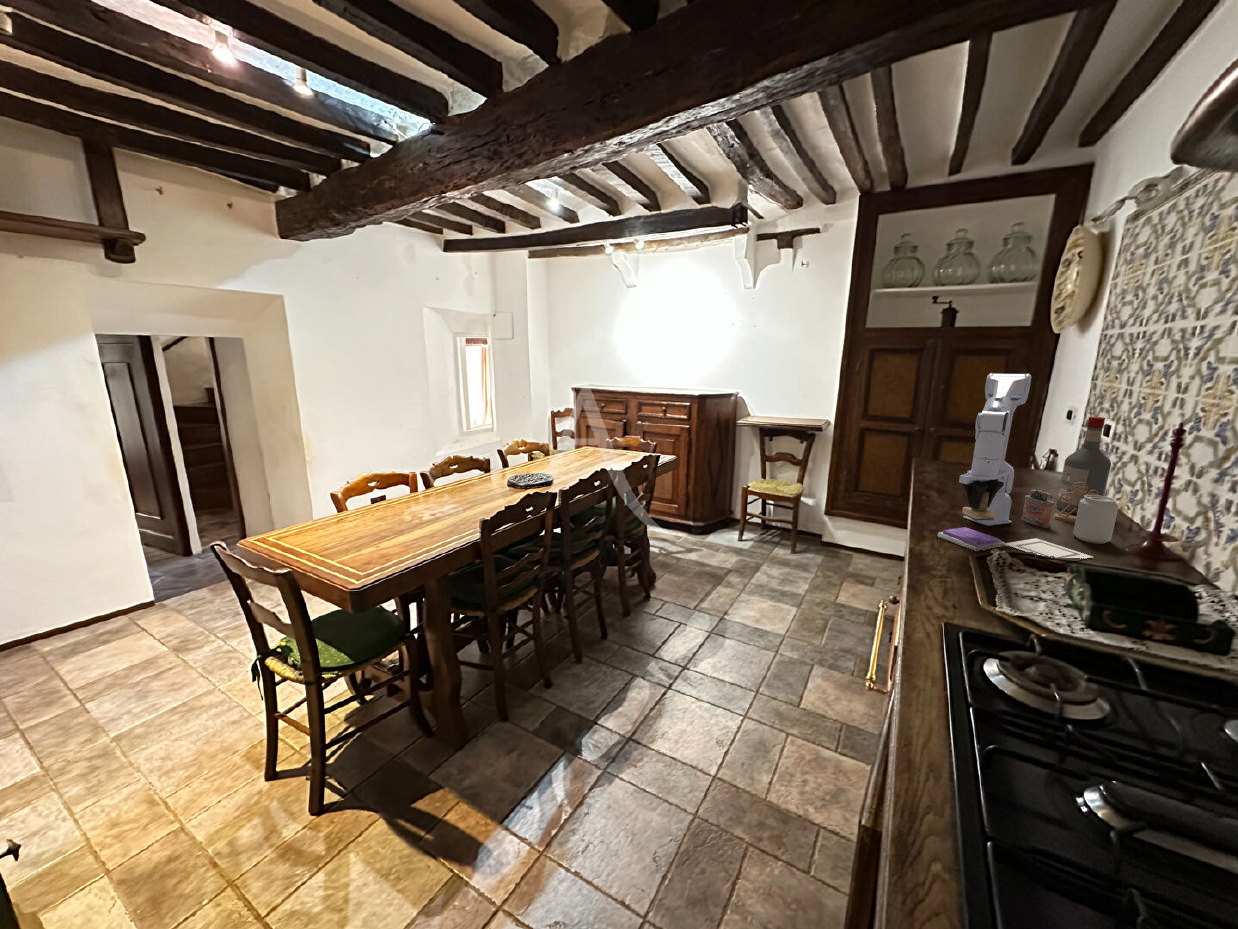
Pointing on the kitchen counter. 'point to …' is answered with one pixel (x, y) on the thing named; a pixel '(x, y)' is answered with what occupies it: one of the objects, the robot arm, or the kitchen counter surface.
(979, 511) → the stamp
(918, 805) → the kitchen counter surface
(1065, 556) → the marked card
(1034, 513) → the lighter
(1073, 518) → the gingerbread man figurine
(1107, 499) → the can
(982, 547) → the ink pad
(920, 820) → the kitchen counter surface
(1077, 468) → the liquor
